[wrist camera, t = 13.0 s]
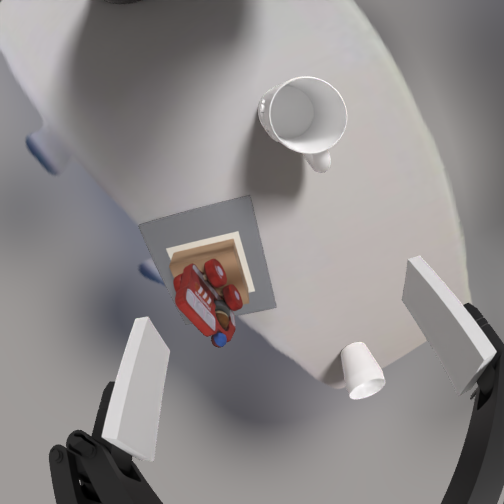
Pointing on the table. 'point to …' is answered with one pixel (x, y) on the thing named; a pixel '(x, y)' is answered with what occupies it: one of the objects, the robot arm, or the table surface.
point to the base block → (220, 252)
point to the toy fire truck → (208, 300)
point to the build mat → (211, 231)
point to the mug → (305, 118)
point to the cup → (361, 371)
